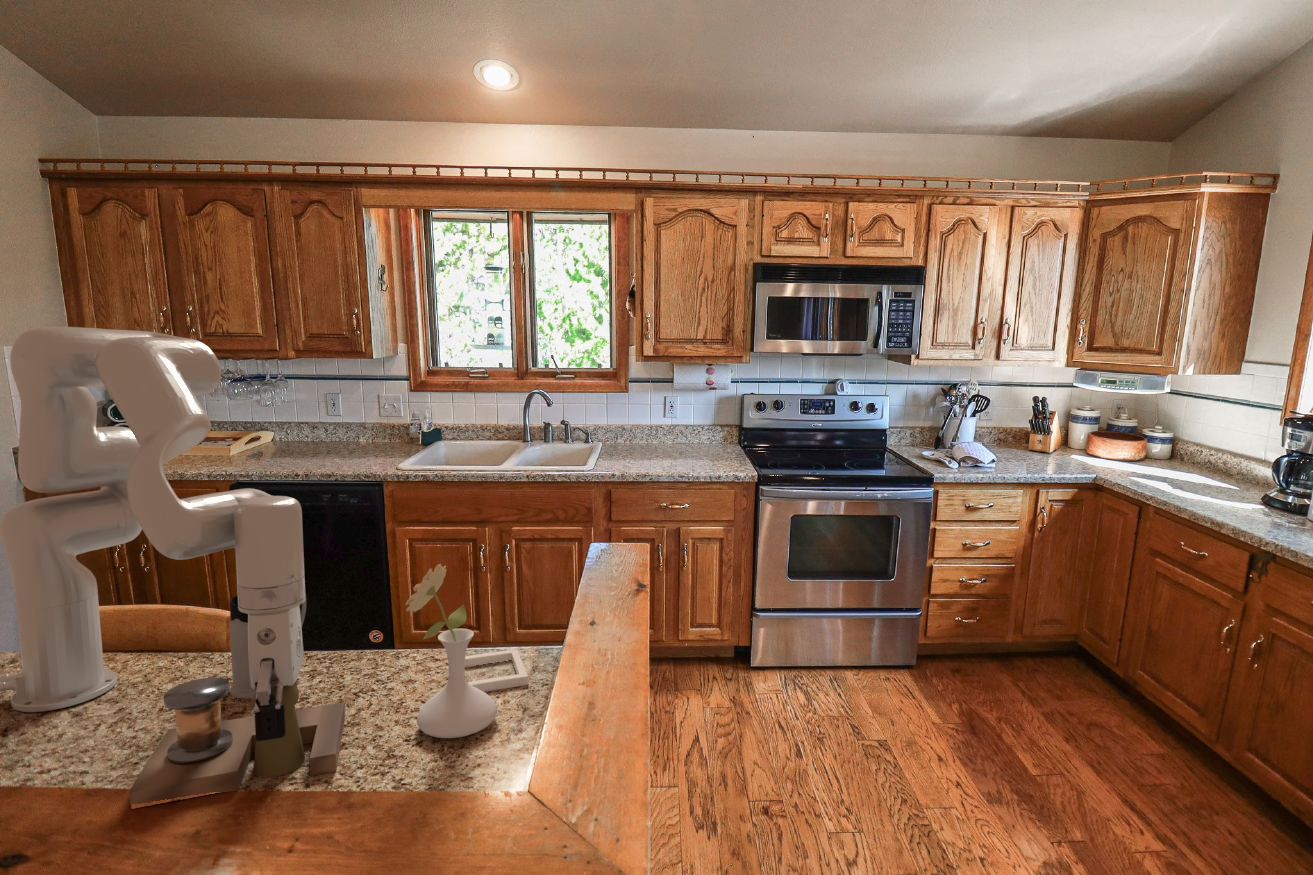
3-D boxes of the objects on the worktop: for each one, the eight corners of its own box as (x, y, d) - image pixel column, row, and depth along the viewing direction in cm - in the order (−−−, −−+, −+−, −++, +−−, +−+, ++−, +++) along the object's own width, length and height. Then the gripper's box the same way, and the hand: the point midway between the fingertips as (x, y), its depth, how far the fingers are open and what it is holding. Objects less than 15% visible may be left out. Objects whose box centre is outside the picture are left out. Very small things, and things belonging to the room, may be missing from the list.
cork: (283, 780, 84) (279, 698, 83) (241, 774, 85) (237, 693, 84) (315, 753, 90) (312, 676, 89) (276, 748, 91) (272, 671, 90)
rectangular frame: (458, 695, 106) (457, 686, 106) (453, 666, 117) (452, 658, 117) (528, 684, 110) (528, 676, 110) (517, 656, 121) (517, 649, 121)
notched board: (130, 809, 78) (129, 790, 78) (169, 746, 91) (168, 729, 91) (336, 771, 86) (335, 753, 86) (344, 718, 99) (344, 702, 99)
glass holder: (216, 693, 106) (211, 603, 104) (287, 657, 120) (283, 576, 118) (260, 701, 104) (255, 609, 102) (328, 663, 117) (324, 581, 116)
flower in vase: (464, 698, 106) (461, 545, 103) (513, 720, 99) (511, 557, 97) (390, 734, 95) (384, 564, 92) (440, 762, 89) (435, 580, 86)
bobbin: (159, 769, 82) (155, 707, 81) (177, 739, 89) (173, 682, 88) (225, 758, 85) (221, 698, 84) (238, 730, 91) (234, 674, 90)
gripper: (294, 613, 79) (300, 748, 81) (313, 570, 95) (317, 684, 97) (221, 620, 76) (228, 760, 78) (252, 575, 92) (258, 692, 94)
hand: (277, 718), depth 87 cm, fingers open, 9 cm apart
